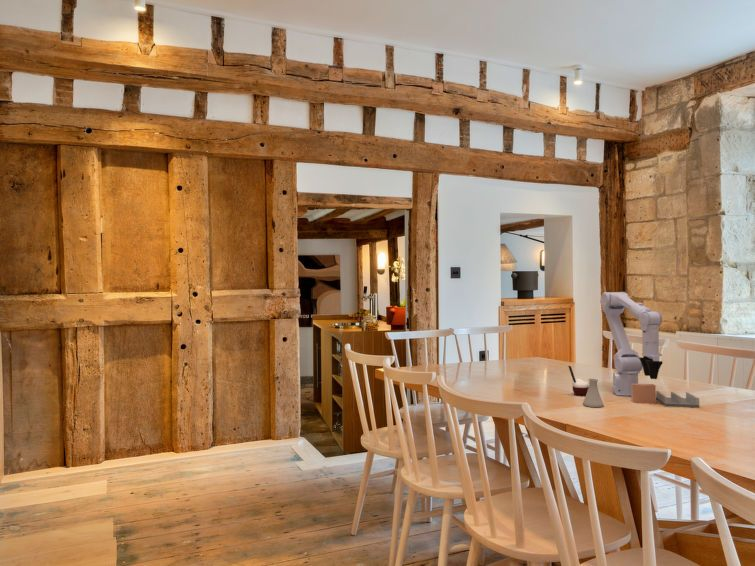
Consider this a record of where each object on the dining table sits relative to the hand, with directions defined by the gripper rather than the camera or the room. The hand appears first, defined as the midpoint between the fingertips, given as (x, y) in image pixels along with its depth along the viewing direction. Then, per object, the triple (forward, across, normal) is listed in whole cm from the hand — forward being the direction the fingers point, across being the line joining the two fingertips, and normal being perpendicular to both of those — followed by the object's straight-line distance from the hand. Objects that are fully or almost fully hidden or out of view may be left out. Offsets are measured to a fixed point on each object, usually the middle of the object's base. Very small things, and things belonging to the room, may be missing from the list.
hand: (650, 377), depth 216 cm
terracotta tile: (+10, -2, +3) cm, 10 cm away
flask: (+10, -11, +23) cm, 28 cm away
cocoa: (+10, +9, +25) cm, 28 cm away
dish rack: (+10, -2, -9) cm, 13 cm away
